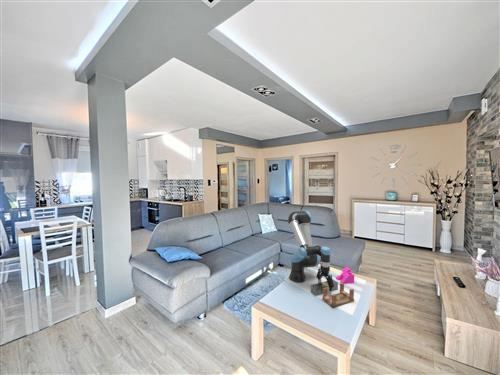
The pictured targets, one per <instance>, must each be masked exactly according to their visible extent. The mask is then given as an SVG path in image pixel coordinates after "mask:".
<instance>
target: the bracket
mask: <svg viewBox="0 0 500 375" xmlns="http://www.w3.org/2000/svg"><path fill="white" fill-rule="evenodd" d="M335 279H336V280H337V281H339V284H340V283H344V285H347V284H355V274H354V273H352V270H351V268H350V267H348V266H345V267H344V268H343V269H342V270H341V273H340V275H337V276H336V277H335Z"/></svg>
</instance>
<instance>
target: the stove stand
mask: <svg viewBox="0 0 500 375" xmlns="http://www.w3.org/2000/svg"><path fill="white" fill-rule="evenodd" d="M354 296H355V289H354V288H350V289H349V293H348V292H347V291H346V290H345V284H344V283H340V282H339V292H337V293H332V294H330V295H328V292H327V288H323V294H322V299H321V300H322V301H323V302H324V303H325V304H327V306H329V307H331V308H332V309H335V308H339V307H340V306H343V305H346V304H349V303H353V302H355V298H354Z"/></svg>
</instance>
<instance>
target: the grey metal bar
mask: <svg viewBox="0 0 500 375" xmlns="http://www.w3.org/2000/svg"><path fill="white" fill-rule="evenodd" d="M332 280H333V284H334V287H333V288H332V291H331V292H333V291H337V290H339V282H337V281H336V280H335V279H333V278H332ZM328 287H329V285H328V282H327V280H326V281H321V283H318V282H317V283H314V284H311V285H310V293H312V294H313V295H314V296H315V297H316V296H320V295H323V288H327V293H328Z"/></svg>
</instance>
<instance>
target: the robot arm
mask: <svg viewBox="0 0 500 375" xmlns="http://www.w3.org/2000/svg"><path fill="white" fill-rule="evenodd" d="M312 219H313V218H312V215H311V213H310V212H309V211H308V210H300V211H299V210H298V211H292V212H291V213H290V214H288V218H287V222H288V225H289V227H290V228H291V230H292V233H293V234H294V237H295V239H296V242H297V245H298V247H299V248H298V249H297V250H298V251H297V252H296V253H293V254H292V255H291V264H290V266H291V268H290V269H291V270H290V273H289V276H288V277H289V280H290V281H291V282H295V283H301V284H302V283H304V282H306V279H307V278H306V273H305V269H306V268H307V269H308V268H314V267H317V266H318V267H319V268H317V270H318V271H317V273H316V276H315V278H316V279H317V283H321V282H322V278H323V277H324V278H325V280H326V281H327V282H328V285H329V287H328V292H327V296H331V295H332V292H333V291H332V288H333V287H334V284H333V280H334V279H333V275H332V274H330V271H331V248H330V247H328V246H321V245H319V244H313V240H312V239H313V238H312V234H311V228H310V225H311V222H312ZM319 264H320V266H319ZM332 279H333V280H332Z"/></svg>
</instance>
